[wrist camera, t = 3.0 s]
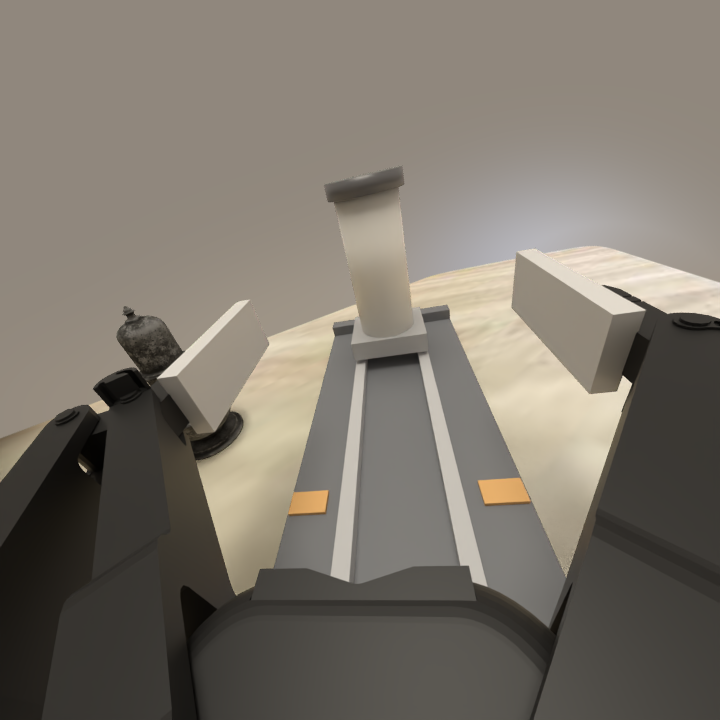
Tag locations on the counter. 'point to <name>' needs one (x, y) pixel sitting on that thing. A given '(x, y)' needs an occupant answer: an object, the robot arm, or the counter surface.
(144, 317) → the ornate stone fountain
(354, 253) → the fader
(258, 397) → the counter surface
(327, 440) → the console
